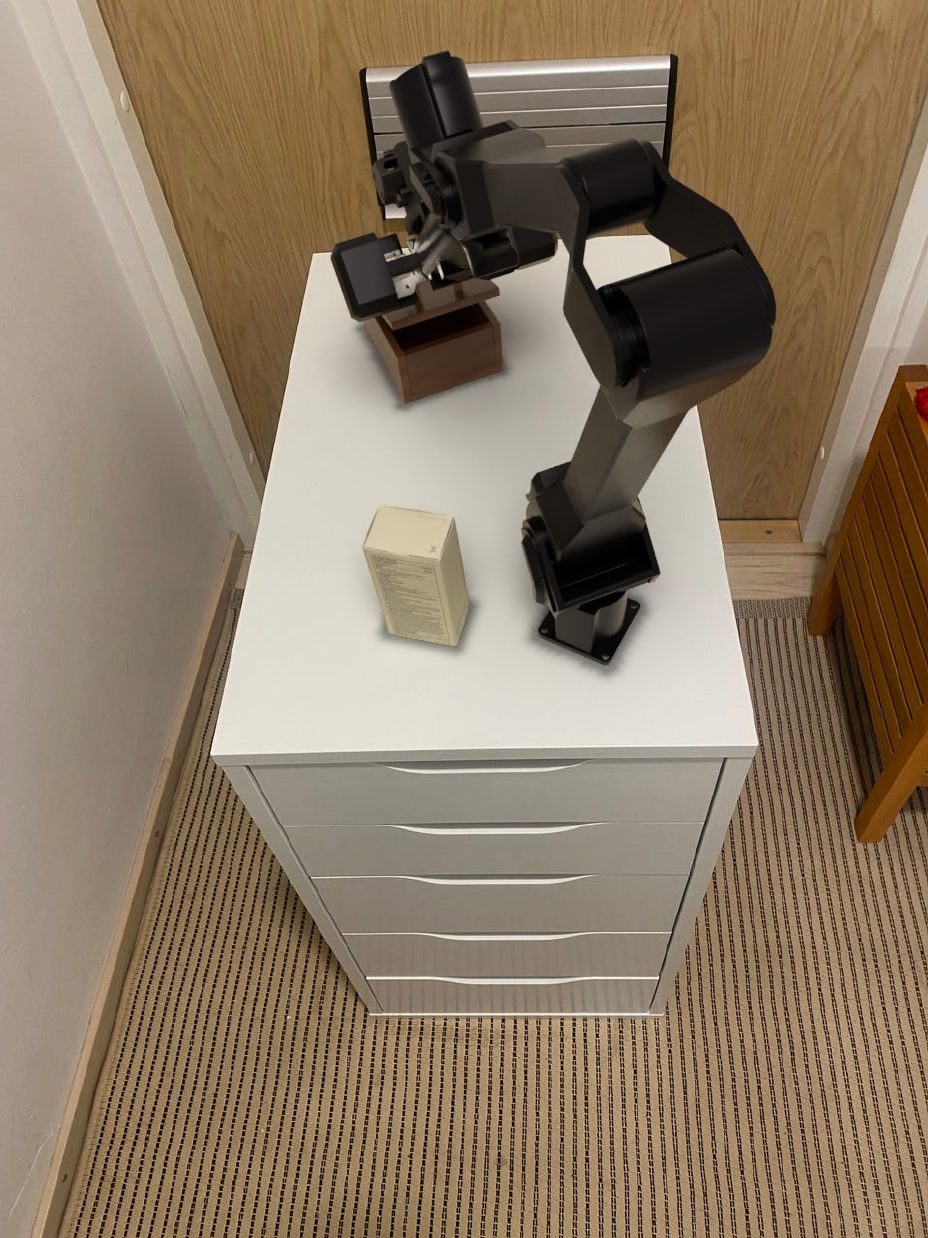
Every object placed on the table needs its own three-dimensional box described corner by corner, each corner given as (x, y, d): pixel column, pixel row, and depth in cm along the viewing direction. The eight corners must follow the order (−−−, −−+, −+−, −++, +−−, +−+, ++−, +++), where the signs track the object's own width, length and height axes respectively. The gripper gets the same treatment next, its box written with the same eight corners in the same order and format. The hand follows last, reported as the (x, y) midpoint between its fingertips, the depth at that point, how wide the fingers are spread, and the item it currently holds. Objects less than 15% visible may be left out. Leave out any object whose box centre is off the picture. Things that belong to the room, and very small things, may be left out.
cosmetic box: (470, 606, 80) (459, 514, 70) (456, 650, 78) (442, 561, 67) (400, 592, 81) (379, 500, 71) (384, 635, 79) (359, 546, 69)
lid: (500, 295, 87) (492, 241, 84) (393, 330, 86) (380, 277, 83) (452, 250, 97) (443, 201, 94) (355, 281, 96) (342, 232, 92)
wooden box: (503, 370, 95) (500, 323, 90) (405, 403, 94) (397, 358, 89) (456, 297, 102) (452, 250, 97) (364, 328, 100) (355, 281, 96)
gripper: (541, 86, 73) (494, 159, 88) (310, 154, 70) (303, 218, 85) (585, 231, 75) (532, 278, 90) (362, 303, 72) (346, 339, 87)
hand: (429, 275), depth 88 cm, fingers closed on lid, 5 cm apart
